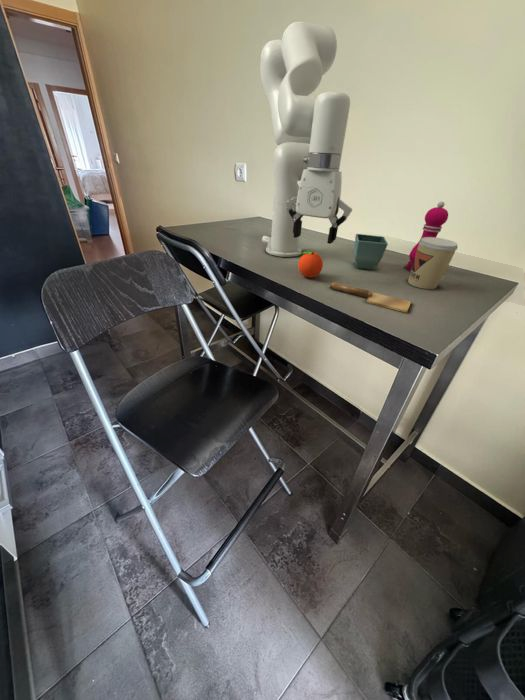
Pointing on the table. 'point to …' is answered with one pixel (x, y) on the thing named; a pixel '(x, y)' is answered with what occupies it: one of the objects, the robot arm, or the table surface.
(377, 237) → the flower pot
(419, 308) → the table surface
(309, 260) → the clementine
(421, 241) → the coffee cup
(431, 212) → the pepper mill
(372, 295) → the spatula
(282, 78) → the robot arm
